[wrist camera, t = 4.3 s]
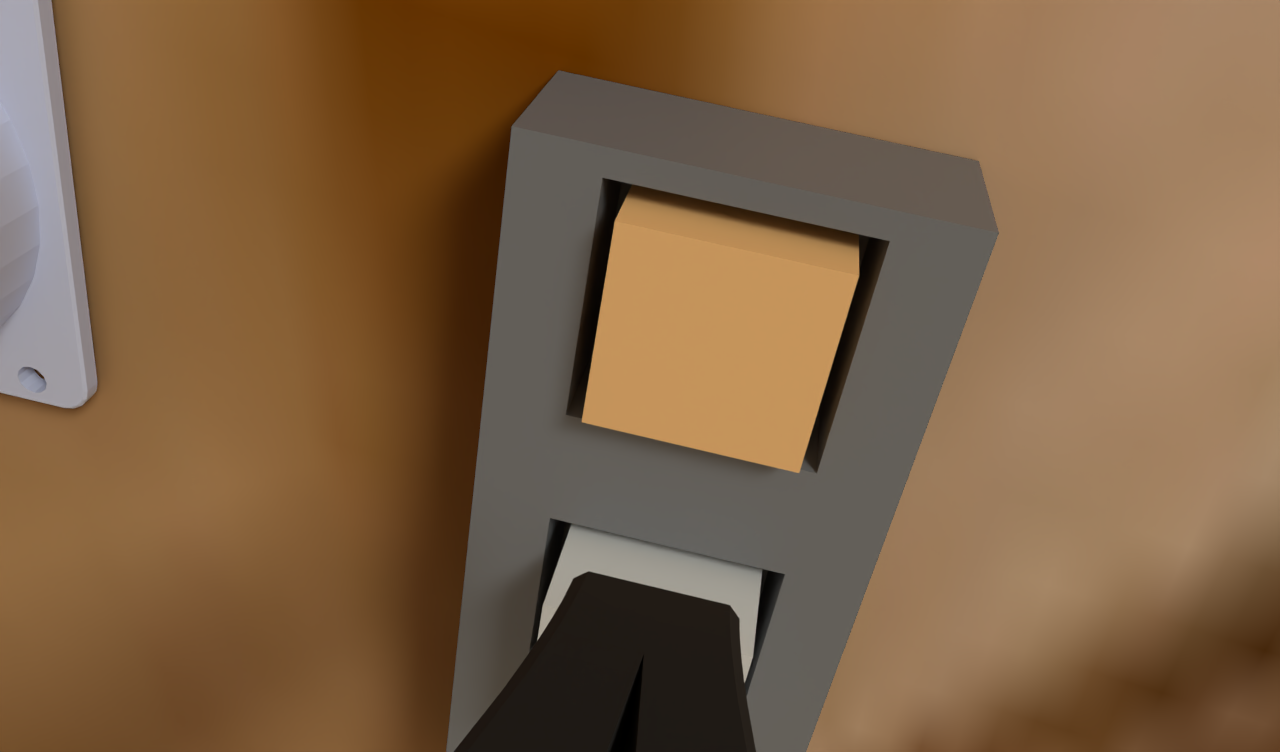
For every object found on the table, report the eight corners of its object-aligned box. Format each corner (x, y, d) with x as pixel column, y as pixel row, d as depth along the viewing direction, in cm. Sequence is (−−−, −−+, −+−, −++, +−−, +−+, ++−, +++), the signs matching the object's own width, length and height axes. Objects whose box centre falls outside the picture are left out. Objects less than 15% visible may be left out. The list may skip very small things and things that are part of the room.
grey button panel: (471, 770, 24) (433, 873, 22) (558, 70, 16) (512, 126, 13) (743, 839, 23) (732, 950, 21) (979, 161, 15) (998, 232, 13)
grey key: (555, 636, 19) (520, 745, 17) (579, 501, 17) (542, 605, 15) (726, 677, 19) (710, 793, 17) (765, 545, 17) (752, 656, 15)
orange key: (614, 337, 17) (581, 422, 15) (646, 154, 15) (614, 221, 13) (806, 381, 17) (799, 473, 15) (858, 201, 15) (859, 275, 13)
